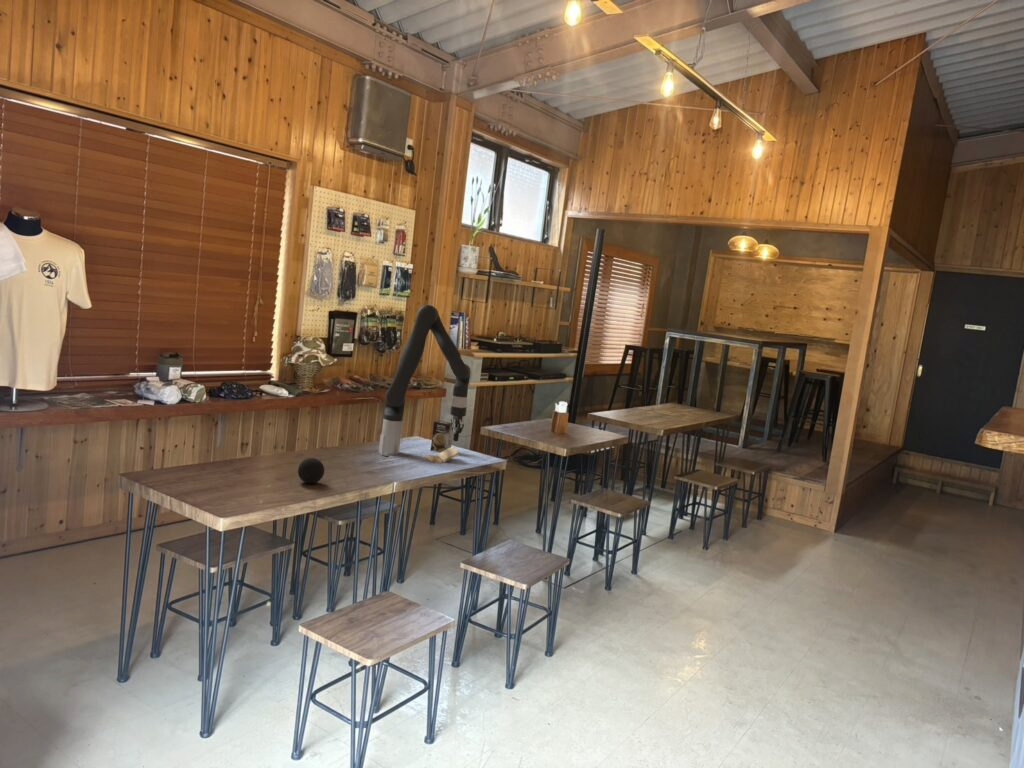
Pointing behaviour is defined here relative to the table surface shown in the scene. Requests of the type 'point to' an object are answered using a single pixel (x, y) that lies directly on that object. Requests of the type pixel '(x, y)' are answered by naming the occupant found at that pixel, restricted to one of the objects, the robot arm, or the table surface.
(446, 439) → the coffee box
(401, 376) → the robot arm
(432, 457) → the plank
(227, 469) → the table surface
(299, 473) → the speaker
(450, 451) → the loose plank
